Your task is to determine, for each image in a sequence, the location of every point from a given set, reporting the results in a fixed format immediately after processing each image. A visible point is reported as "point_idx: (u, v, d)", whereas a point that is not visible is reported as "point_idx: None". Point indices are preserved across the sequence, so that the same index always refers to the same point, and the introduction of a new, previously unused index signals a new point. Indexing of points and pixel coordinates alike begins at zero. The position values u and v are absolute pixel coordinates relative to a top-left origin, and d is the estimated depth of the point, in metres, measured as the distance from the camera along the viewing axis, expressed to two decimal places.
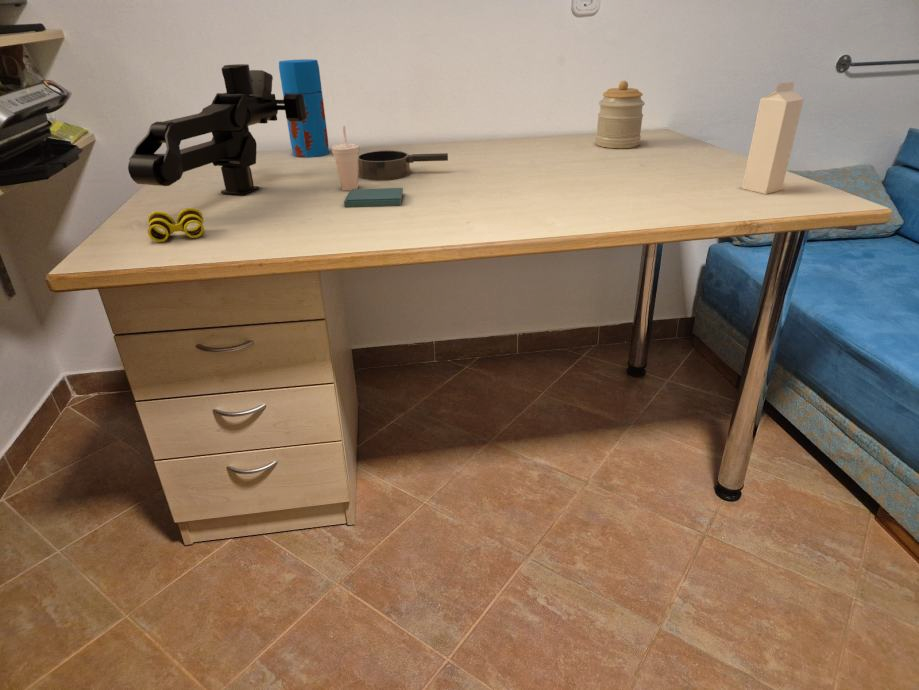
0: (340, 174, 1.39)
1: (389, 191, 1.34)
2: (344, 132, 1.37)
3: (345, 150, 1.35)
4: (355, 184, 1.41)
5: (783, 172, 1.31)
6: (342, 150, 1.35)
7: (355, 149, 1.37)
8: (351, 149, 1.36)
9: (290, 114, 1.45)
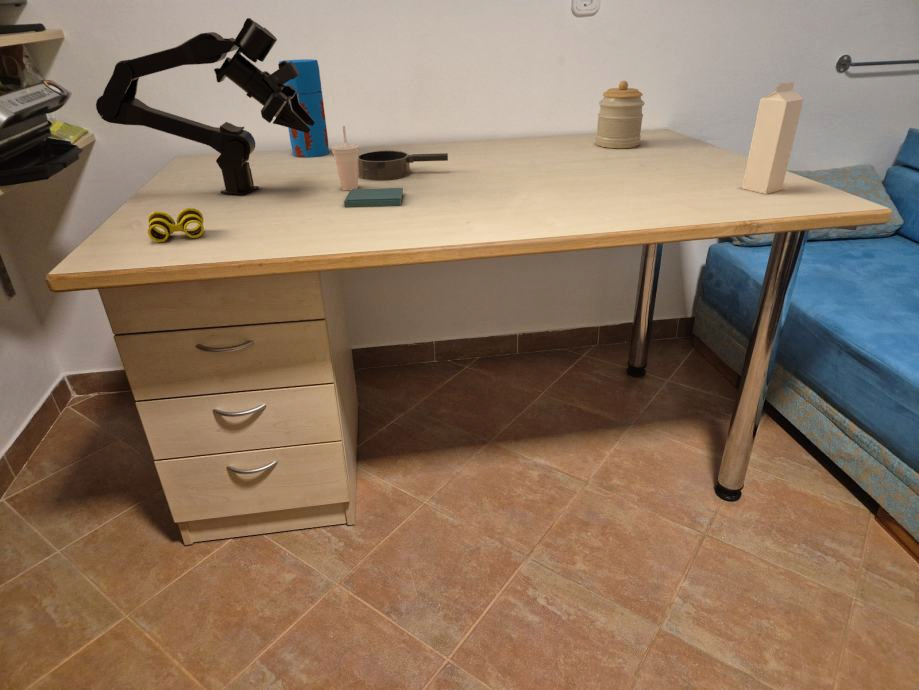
0: (340, 174, 1.39)
1: (389, 191, 1.34)
2: (344, 132, 1.37)
3: (345, 150, 1.35)
4: (355, 184, 1.41)
5: (783, 172, 1.31)
6: (342, 150, 1.35)
7: (355, 149, 1.37)
8: (351, 149, 1.36)
9: None
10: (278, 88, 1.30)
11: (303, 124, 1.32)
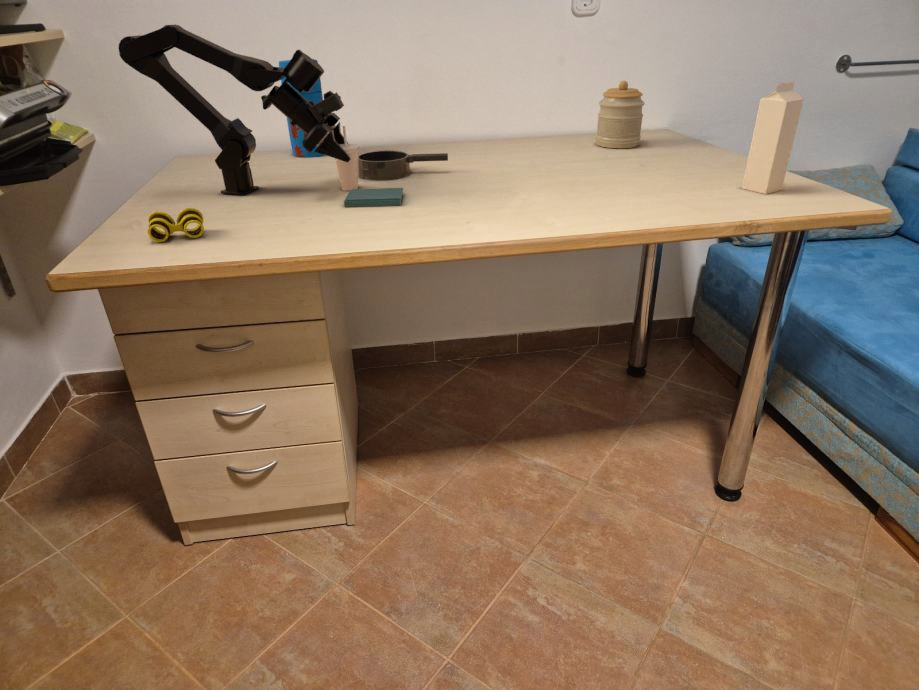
0: (341, 174, 1.39)
1: (389, 191, 1.34)
2: (344, 132, 1.37)
3: (345, 150, 1.35)
4: (355, 184, 1.41)
5: (783, 172, 1.31)
6: None
7: (355, 149, 1.37)
8: (351, 149, 1.36)
9: None
10: (321, 119, 1.32)
11: (343, 154, 1.35)
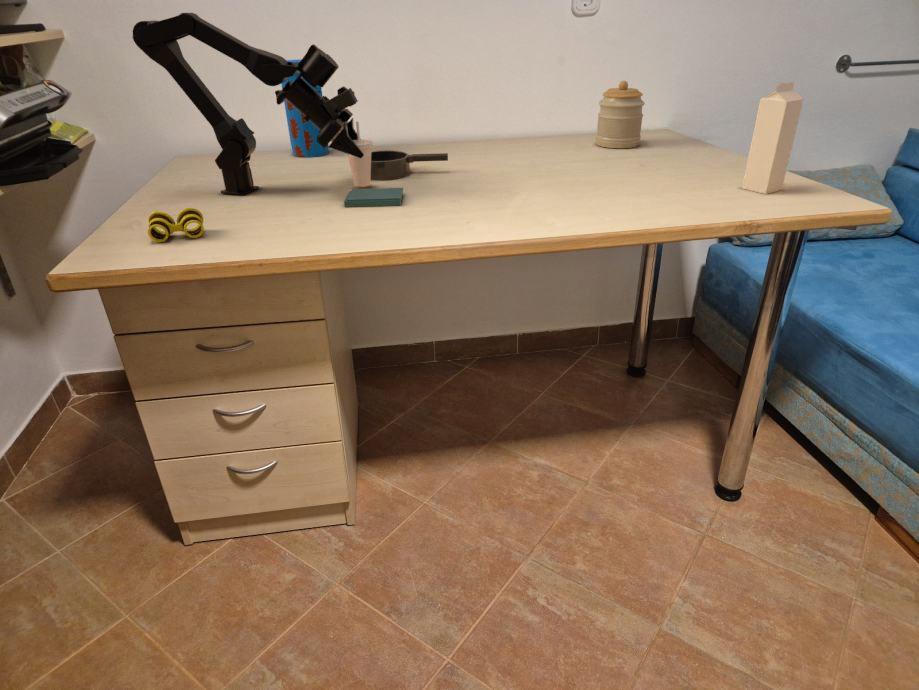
0: (353, 170, 1.39)
1: (389, 191, 1.34)
2: (357, 128, 1.36)
3: (358, 146, 1.35)
4: (367, 181, 1.41)
5: (783, 172, 1.31)
6: None
7: (368, 145, 1.36)
8: (364, 145, 1.35)
9: None
10: (335, 114, 1.32)
11: (357, 149, 1.34)
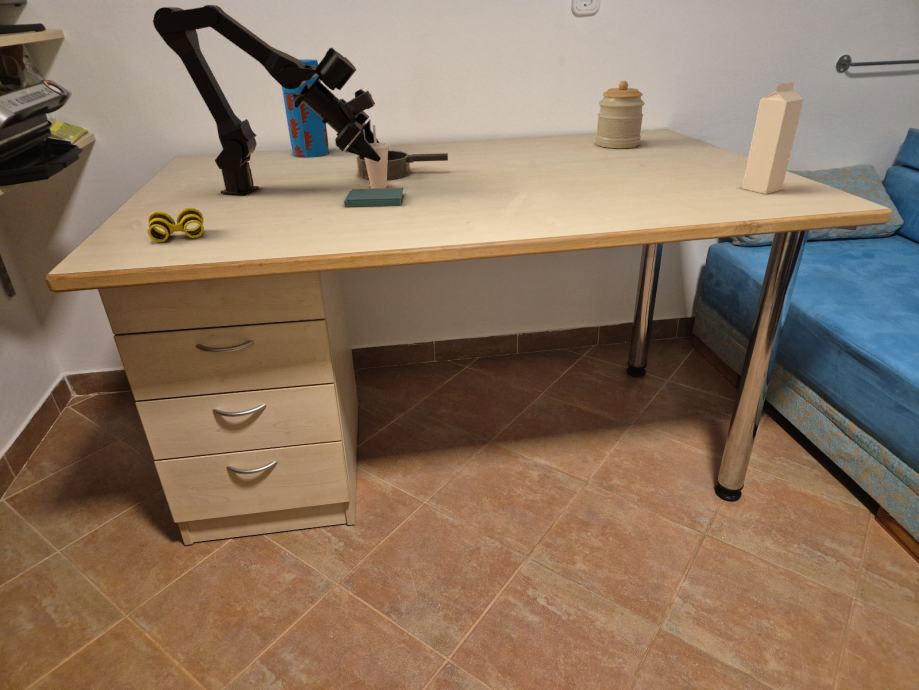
0: (370, 174, 1.39)
1: (389, 191, 1.34)
2: (374, 131, 1.37)
3: (375, 149, 1.35)
4: (384, 184, 1.41)
5: (783, 172, 1.31)
6: None
7: (385, 148, 1.37)
8: (381, 148, 1.36)
9: None
10: (353, 117, 1.32)
11: (374, 153, 1.34)
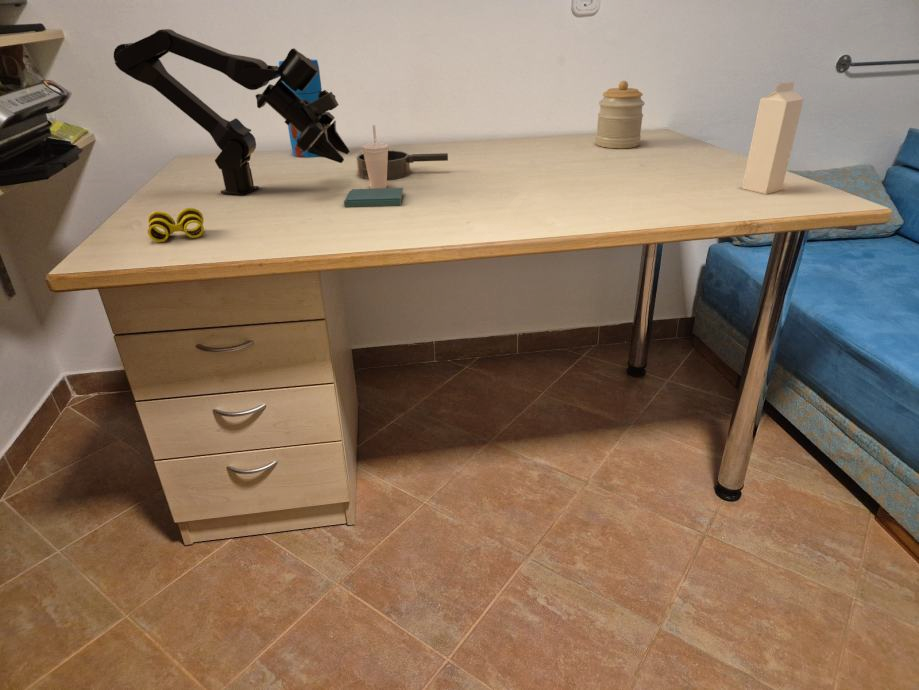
0: (370, 174, 1.39)
1: (389, 191, 1.34)
2: (374, 131, 1.37)
3: (375, 149, 1.35)
4: (384, 184, 1.41)
5: (783, 172, 1.31)
6: (372, 149, 1.35)
7: (385, 148, 1.37)
8: (381, 148, 1.36)
9: None
10: (316, 118, 1.32)
11: (337, 154, 1.34)
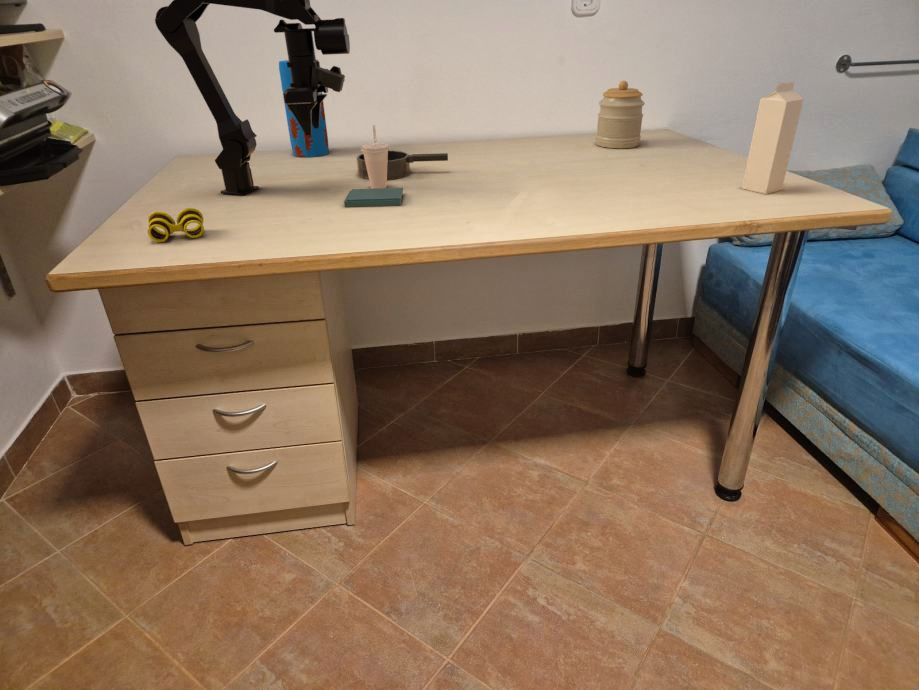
0: (370, 174, 1.39)
1: (389, 191, 1.34)
2: (374, 131, 1.37)
3: (375, 149, 1.35)
4: (384, 184, 1.41)
5: (783, 172, 1.31)
6: (372, 149, 1.35)
7: (385, 148, 1.37)
8: (381, 148, 1.36)
9: (292, 87, 1.25)
10: (316, 84, 1.29)
11: (309, 127, 1.31)
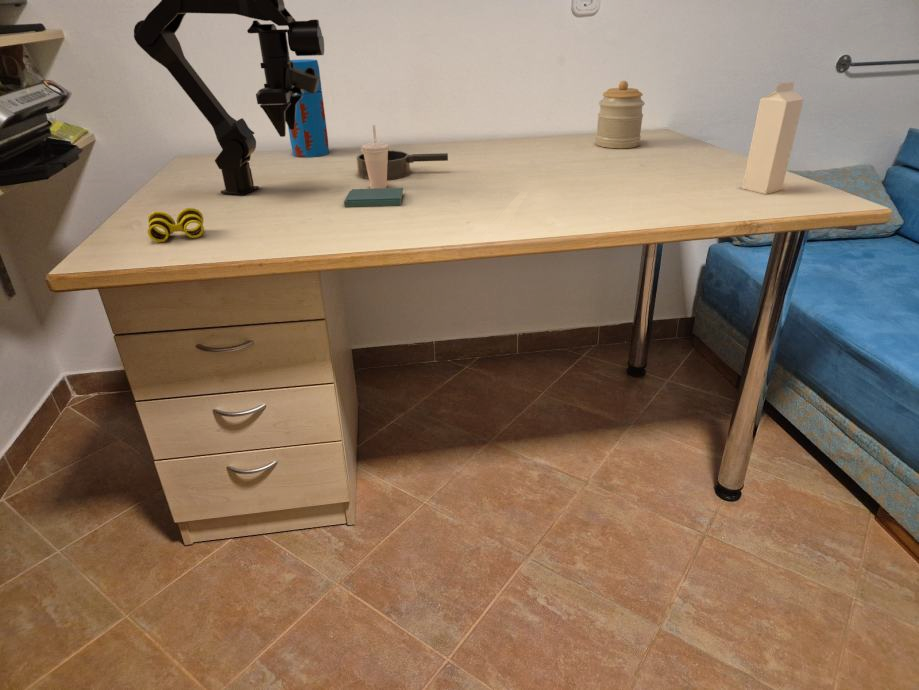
0: (370, 174, 1.39)
1: (389, 191, 1.34)
2: (374, 131, 1.37)
3: (375, 149, 1.35)
4: (384, 184, 1.41)
5: (783, 172, 1.31)
6: (372, 149, 1.35)
7: (385, 148, 1.37)
8: (381, 148, 1.36)
9: (265, 88, 1.25)
10: (290, 86, 1.29)
11: (283, 128, 1.30)
